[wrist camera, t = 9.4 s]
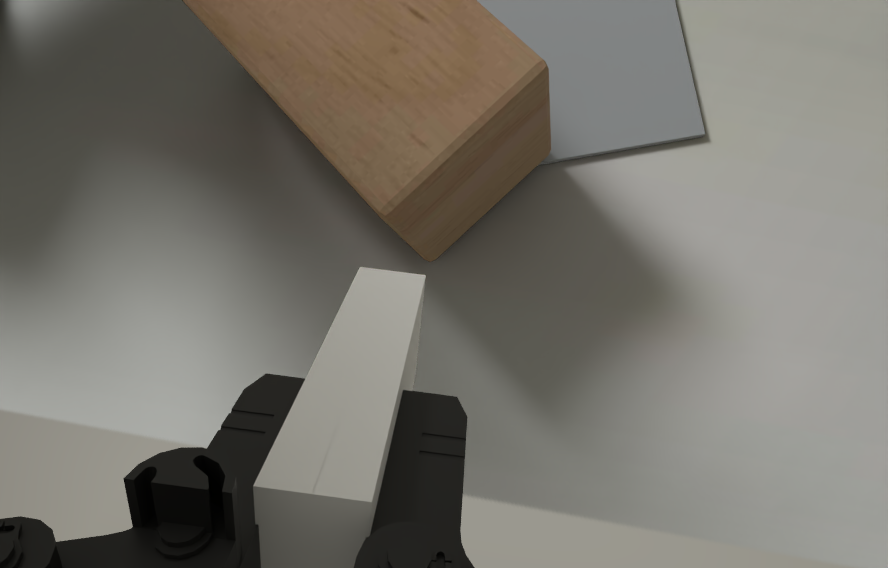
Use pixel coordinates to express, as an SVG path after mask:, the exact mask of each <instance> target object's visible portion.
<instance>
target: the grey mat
mask: <svg viewBox="0 0 888 568" xmlns="http://www.w3.org/2000/svg"><path fill="white" fill-rule="evenodd" d="M477 1H478V2H479V3H480V4H481V5H482V6H483V7H485V8H486V9H487V10H488V11H489V12H490V13H491V14H493V15H494V16H495V17H496V18H497V19H498V20H499V21H500V22H502V23H503V24H504V25H505V26H506V27H507V28H508V29H509V30H511V31H512V32H513V33H514V34H515V35H516V36H517V37H518V38H520V39H521V40H522V41H523V42H524V43H525V44H526V45H527V46H529V47H530V48H531V49H532V50H533V51H534V52H535V53H536V54H538V55H539V56H540V57H541V58H542V59H543V60H544V61H545V62H546V64H547V66H548V68H549V94H550V128H551V151H550V153H549V155H548V156H547V157H546V158H545V159H544V160H543V161H542V162H541V163H540V164H539V165H542V164H548V163H554V162H559V161H565V160H571V159H577V158H583V157H588V156H594V155H600V154H606V153H612V152H617V151H623V150H629V149H635V148H641V147H646V146H652V145H658V144H664V143H669V142H675V141H681V140H687V139H693V138H698V137H703V136H704V135H705V131H704V126H703V122H702V117H701V113H700V109H699V104H698V100H697V95H696V91H695V87H694V82H693V78H692V73H691V69H690V65H689V60H688V56H687V51H686V47H685V43H684V38H683V34H682V29H681V25H680V21H679V16H678V12H677V7H676V3H675V0H477Z"/></svg>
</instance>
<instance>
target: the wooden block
mask: <svg viewBox="0 0 888 568" xmlns="http://www.w3.org/2000/svg"><path fill="white" fill-rule="evenodd" d="M183 2H184V3H185V4H186V5H187V6H188V7H189V8H190V9H191V10H192V11H193V13H194V14H195V15H196V16H197V17H198V18H199V19H200V20H201V21H202V22H203V24H204V25H205V26H206V27H207V28H208V29H209V30H210V31H211V32H212V33H213V34H214V36H215V37H216V38H217V39H218V40H219V41H220V42H221V43H222V44H223V45H224V47H225V48H226V49H227V50H228V51H229V52H230V53H231V54H232V55H233V56H234V58H235V59H236V60H237V61H238V62H239V63H240V64H241V65H242V66H243V67H244V69H245V70H246V71H247V72H248V73H249V74H250V75H251V76H252V77H253V78H254V79H255V81H256V82H257V83H258V84H259V85H260V86H261V87H262V88H263V89H264V90H265V92H266V93H267V94H268V95H269V96H270V97H271V98H272V99H273V100H274V101H275V103H276V104H277V105H278V106H279V107H280V108H281V109H282V110H283V111H284V112H285V114H286V115H287V116H288V117H289V118H290V119H291V120H292V121H293V122H294V123H295V124H296V126H297V127H298V128H299V129H300V130H301V131H302V132H303V133H304V134H305V135H306V137H307V138H308V139H309V140H310V141H311V142H312V143H313V144H314V145H315V146H316V148H317V149H318V150H319V151H320V152H321V153H322V154H323V155H324V156H325V157H326V159H327V160H328V161H329V162H330V163H331V164H332V165H333V166H334V167H335V168H336V169H337V171H338V172H339V173H340V174H341V175H342V176H343V177H344V178H345V179H346V180H347V182H348V183H349V184H350V185H351V186H352V187H353V188H354V189H355V190H356V191H357V193H358V194H359V195H360V196H361V197H362V198H363V199H364V200H365V201H366V202H367V204H368V205H369V206H370V207H371V208H372V209H373V210H374V211H375V212H376V213H377V214H378V216H379V217H380V218H381V219H382V220H384V221H385V222H386V223H387V224H388V225H389V226H390V227H391V228H392V229H393V230H394V231H395V232H396V233H397V234H398V235H399V236H400V237H401V238H402V239H403V240H404V241H406V242H407V243H408V244H409V245H410V246H411V247H412V248H413V249H414V250H415V251H416V252H417V253H418V254H419V255H420V256H421V257H422V258H423V259H425V260H427V261H429V262H431V261H433V260H436V259H437V258H438V257H439V256H440V255H441V254H442V253H444V252H445V251H446V250H447V249H448V248H449V247H450V246H451V245H452V244H453V243H454V242H455V241H456V240H458V239H459V238H460V237H461V236H462V235H463V234H464V233H465V232H466V231H467V230H468V229H469V228H471V227H472V226H473V225H474V224H475V223H476V222H477V221H478V220H479V219H480V218H481V217H482V216H483V215H485V214H486V213H487V212H488V211H489V210H490V209H491V208H492V207H493V206H494V205H495V204H496V203H497V202H499V201H500V200H501V199H502V198H503V197H504V196H505V195H506V194H507V193H508V192H509V191H510V190H512V189H513V188H514V187H515V186H516V185H517V184H518V183H519V182H520V181H521V180H522V179H523V178H524V177H526V176H527V175H528V174H529V173H530V172H531V171H532V170H533V169H534V168H535V167H536V166H537V165H539V164H540V163H541V162H542V161H543V160H544V159H545V158H546V157H547V156H548V155H549V153H550V151H551V128H550V94H549V68H548V66H547V64H546V62H545V61H544V60H543V59H542V58H541V57H540V56H539V55H538V54H536V53H535V52H534V51H533V50H532V49H531V48H530V47H529V46H527V45H526V44H525V43H524V42H523V41H522V40H521V39H520V38H518V37H517V36H516V35H515V34H514V33H513V32H512V31H511V30H509V29H508V28H507V27H506V26H505V25H504V24H503V23H502V22H500V21H499V20H498V19H497V18H496V17H495V16H494V15H493V14H491V13H490V12H489V11H488V10H487V9H486V8H485V7H483V6H482V5H481V4H480V3H479V2H478V1H477V0H183Z"/></svg>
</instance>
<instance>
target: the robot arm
mask: <svg viewBox="0 0 888 568" xmlns="http://www.w3.org/2000/svg"><path fill="white" fill-rule="evenodd" d="M425 279H426V275H421V274H413V273H405V272H397V271H389V270H382V269H374V268H366V267H360V268H359V270H358V272H357V274H356V276H355V278H354V280H353V282H352V284H351V286H350V288H349V290H348V292H347V294H346V296H345V298H344V301H343V303H342V305H341V307H340V309H339V311H338V313H337V315H336V317H335V319H334V321H333V323H332V325H331V327H330V329H329V331H328V333H327V335H326V337H325V340H324V342H323V344H322V346H321V348H320V350H319V352H318V354H317V356H316V358H315V360H314V362H313V364H312V366H311V368H310V370H309V372H308V374H307V376H306V378H305V379H303V378H295V377H288V376H280V375H273V374H265V375H264V376H262V377H261V378H259V379H258V380H257V381H255V382H254V383H252V384H251V385H250V386H248V387H247V388H245V389H244V390H243V392H242V394H241V395H240V397H239V398H238V400H237V402H236V403H235V405H234V406H233V408H232V411H231V413H229V414H228V416H227V418H226V419H225V421H224V422H223V424H222V425H221V430H218V432H217V433H216V435H215V437H214V438H213V440H212V441H211V443H210V445H209V446H208V448H207V449H205V448H178V449H174V450H170V451H166V452H162V453H159V454H157V455H155V456H153V457H151V458H149V459H147V460H146V461H144V462H142V463H140V464H138V466H136V467H135V468H134V469H133V470H132V471H131V472H130V473H129V474H128V475H127V476H126V477H125V478H124V483H125V488H126V493H127V498H128V503H129V509H130V514H131V520H132V524H133V527H132V528H131V529H129V530H126V531H123V532H119V533H114V534H109V535H104V536H96V537H89V538H82V539H75V540H68V541H60V542H56V541H55V538H54V534H53V530H52V529H51V528H49V527H48V526H47V525H46V524H44V523H43V522H42V521H41V520H37V519H32V518H26V517H13V518H5V519H0V568H474V567H473V565H472V563H471V562H470V561H469V559H468V558H467V556H466V554H465V551H464V549H463V546H462V543H461V533H460V526H461V510H462V494H463V478H464V459H465V445H466V443H465V442H466V429H467V415H466V413H465V412H464V410H463V408H462V406H461V404H460V402H459V400H458V398H457V397H454V396H446V395H439V394H431V393H423V392H416V391H413V386H414V381H415V376H416V368H417V358H418V348H419V339H420V329H421V319H422V309H423V299H424V289H425Z"/></svg>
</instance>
